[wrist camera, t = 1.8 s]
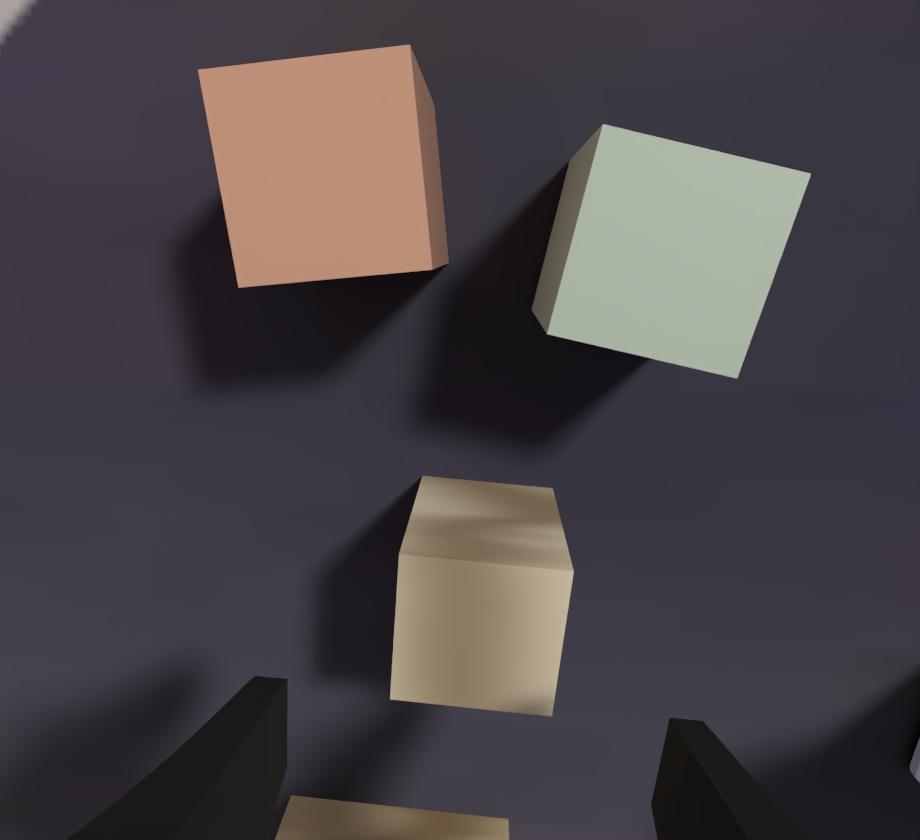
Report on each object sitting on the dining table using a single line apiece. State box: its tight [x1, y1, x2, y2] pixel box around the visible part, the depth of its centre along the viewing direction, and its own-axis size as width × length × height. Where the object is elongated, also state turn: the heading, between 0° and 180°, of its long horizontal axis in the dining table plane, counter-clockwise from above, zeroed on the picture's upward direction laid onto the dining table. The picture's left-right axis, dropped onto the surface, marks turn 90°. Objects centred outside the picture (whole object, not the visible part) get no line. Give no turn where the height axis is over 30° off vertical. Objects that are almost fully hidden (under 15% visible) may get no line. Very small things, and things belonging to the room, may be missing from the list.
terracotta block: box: [198, 45, 449, 288], centre depth 14 cm, size 4×4×5 cm
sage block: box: [532, 124, 811, 378], centre depth 14 cm, size 4×4×5 cm
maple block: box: [390, 476, 574, 716], centre depth 17 cm, size 4×4×5 cm
